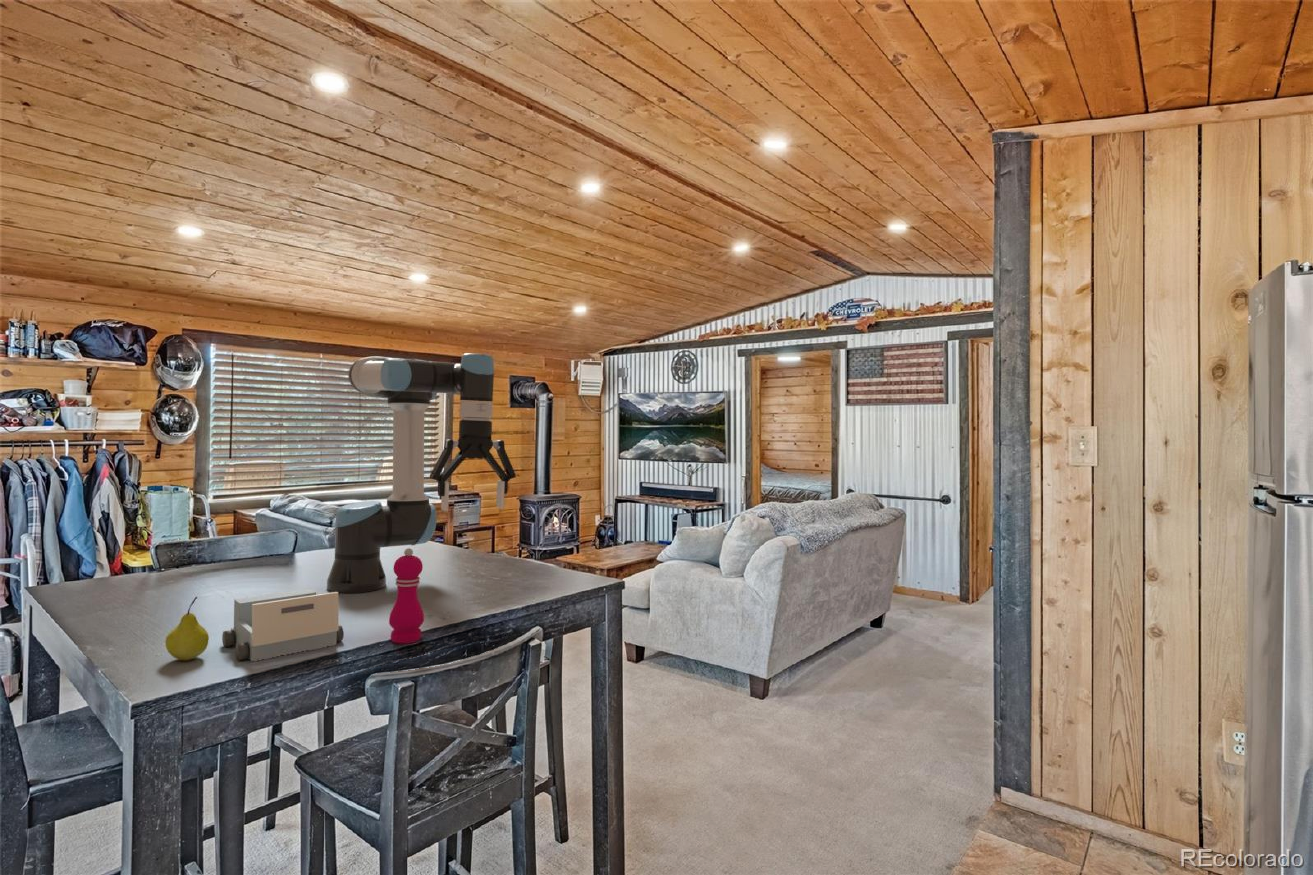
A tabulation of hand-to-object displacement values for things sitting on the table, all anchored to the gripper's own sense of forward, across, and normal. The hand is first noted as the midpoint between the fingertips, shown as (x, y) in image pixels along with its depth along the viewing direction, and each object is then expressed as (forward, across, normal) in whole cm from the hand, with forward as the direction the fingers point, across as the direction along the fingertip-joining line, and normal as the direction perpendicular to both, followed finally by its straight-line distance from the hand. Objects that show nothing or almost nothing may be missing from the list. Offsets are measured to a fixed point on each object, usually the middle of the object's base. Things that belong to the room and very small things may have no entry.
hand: (472, 509), depth 166 cm
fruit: (+28, -56, +3) cm, 62 cm away
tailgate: (+24, -38, -4) cm, 45 cm away
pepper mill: (+27, -16, -5) cm, 32 cm away
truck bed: (+27, -39, +4) cm, 48 cm away
